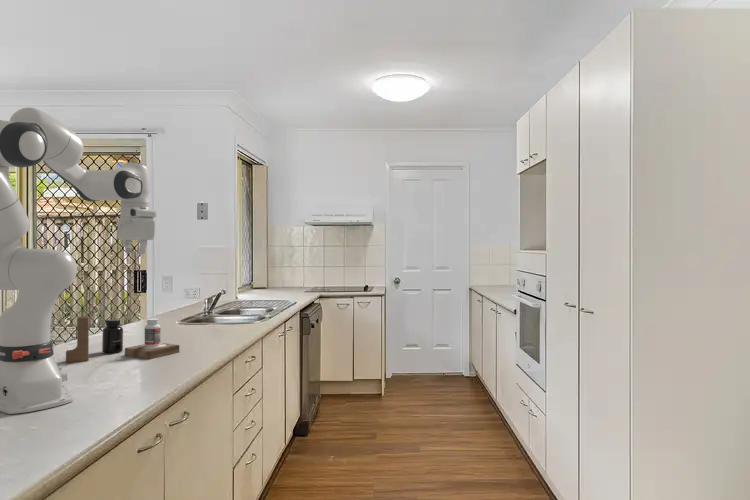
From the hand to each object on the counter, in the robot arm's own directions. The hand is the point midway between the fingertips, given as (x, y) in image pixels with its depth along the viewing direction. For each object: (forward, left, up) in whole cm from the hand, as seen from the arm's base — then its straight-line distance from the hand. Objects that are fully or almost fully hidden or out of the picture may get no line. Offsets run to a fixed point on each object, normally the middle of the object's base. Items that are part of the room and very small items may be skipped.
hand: (134, 253), depth 169 cm
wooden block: (+19, +11, -37) cm, 43 cm away
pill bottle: (+11, -12, -34) cm, 38 cm away
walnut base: (+11, -12, -37) cm, 41 cm away
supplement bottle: (+25, -3, -37) cm, 45 cm away
